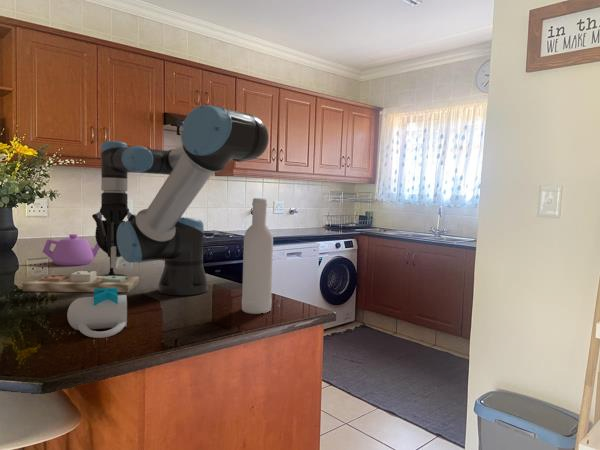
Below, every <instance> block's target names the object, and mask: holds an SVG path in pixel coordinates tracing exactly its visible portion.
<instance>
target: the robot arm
mask: <svg viewBox="0 0 600 450" xmlns="http://www.w3.org/2000/svg"><path fill="white" fill-rule="evenodd" d="M181 127H182V129H183V130H182V131H181V132H180V135H181V141H182V142H181V143H182V146H178V147H175V148H172V149H169V150H165V149H164V150H162V149H155V148H154V149H153V148H147V147H145V146H142V145H141V146H140V145H132V146H128V144H127V143H126V142H124V141H116V140H110V141H109V140H108V141H107V140H106V141H104V142H102V143H101V151H100V165H101V166H100V167H101V168H100V171H101V181H100V182H101V185H100V187H101V188H100V189H101V191H103V192H102V193H101V195H100V197H101V199H100V200H101V202H100V203H101V207H100V209H99V211H98V212H96V213H94V214H92V215H91V217H92V219H93V220H94V222H95V224H96V227H97V229H98V233H99V237H100V241H101V244H102V245H106V246H107V247H108V254H107V257H108V258H110V257H111V268H113V269H117V268H118V267H119V258H122V259H123V260H124V261H126V262H128V263H137V264H139V263H146V262H154V261H155V262H156V261H161V260H163V261H164V267H163V270H162V271H161V272H162V273H161V275H160V279H159V282H158V291H157V292H158V293H160V294H163V295H168V296H193V295H200V294H204V293H206V292H208V290H209V281H208V279H207V275H206V271H205V269H204V235H205V231H204V223H203V221H202V220H201V219H197V218H192V217H183V215H184V213H185V212H186V211H187V210H188V208H189V207H190V205H191V204H192V203H193V201H194V199H195V198H196V196H198V194H199V193H200V191H201V190H202V189H203V187H204V185H205V184H206V183H207V182H208V180H209V179H210V177H211V176H212V175H213V173H219V172H221V171H222V170H224V168H225V167H226V165H227V164H228V163H229V162H230V161H234V162H237V163H242V162H247V161H252V160H255V159H257V158H259V157H260V156H262V155H263V154H264V153H265V152H266V150H267V148H268V145H269V140H270V139H269V131H268V129H267V127H266V125H265V124H264V122H263V121H262V120H261V119H260V118H259V117H257V116H255V115H253V114H251V113H247V112H246V113H245V112H240V111H236V110H232V109H227V108H224V107H223V106H218V105H209V104H204V105H199V106H196V107H194V108H193V109H191V111H190V112H189V113H188V114H187V116H185V119H184V120H183V122H182V126H181ZM128 173H137V174H139V173H140V174H154V175H157V174H158V175H168V176H167V178H166V179H165V181H164V183H163V185H161V187H160V189H159V191H158V192H157V193H156V195H155V197H154V198H153V199H152V201H151V203H150V204H149V206H148V207H147V208H144V209H142V210H139V211H138V212H137V214H133V213H132V212H131V211H130V209H129V207H128V206H129V205H128V197H129V196H128V193H126V192H128ZM103 218H104V220H107V237H106V234H105V230H104V226H103V222H102V219H103ZM125 218H127V220H124V219H125ZM122 221H125V222H122ZM114 222H115V225H116V245H115V246H113V245H114Z"/></svg>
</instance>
